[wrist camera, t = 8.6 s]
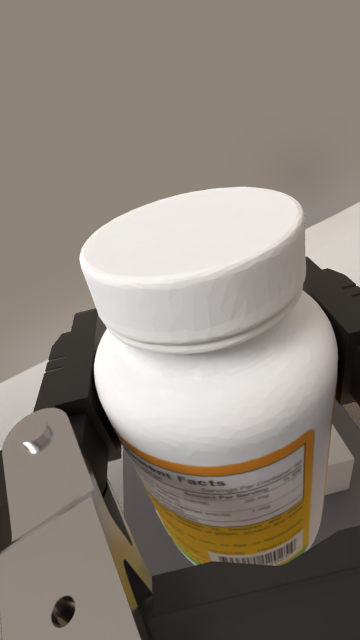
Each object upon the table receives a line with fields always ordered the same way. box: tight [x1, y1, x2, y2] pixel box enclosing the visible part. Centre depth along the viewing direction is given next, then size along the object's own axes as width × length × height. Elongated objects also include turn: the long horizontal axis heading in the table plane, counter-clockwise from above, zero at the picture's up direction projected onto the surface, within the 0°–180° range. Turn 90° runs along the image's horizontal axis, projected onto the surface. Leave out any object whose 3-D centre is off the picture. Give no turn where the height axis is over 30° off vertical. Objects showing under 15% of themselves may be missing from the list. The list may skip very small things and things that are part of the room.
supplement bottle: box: [80, 187, 338, 566], centre depth 9 cm, size 5×5×10 cm
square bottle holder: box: [123, 399, 360, 577], centre depth 22 cm, size 15×14×7 cm
